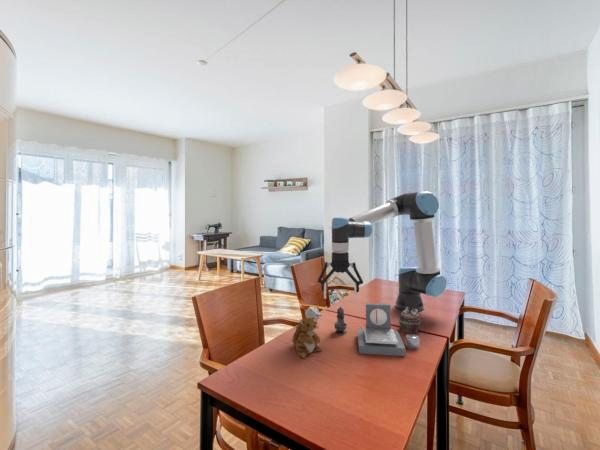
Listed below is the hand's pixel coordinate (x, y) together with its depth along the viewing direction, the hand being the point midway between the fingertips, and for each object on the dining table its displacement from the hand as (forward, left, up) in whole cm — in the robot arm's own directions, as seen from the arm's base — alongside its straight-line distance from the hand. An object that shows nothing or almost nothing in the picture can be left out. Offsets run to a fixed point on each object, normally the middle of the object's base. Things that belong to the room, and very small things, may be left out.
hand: (340, 298), depth 131 cm
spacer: (-29, +10, -16) cm, 35 cm away
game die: (+14, -10, -16) cm, 23 cm away
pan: (-16, +12, -12) cm, 24 cm away
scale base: (-16, +11, -16) cm, 25 cm away
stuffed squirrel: (+14, +18, -16) cm, 28 cm away
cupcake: (-32, -7, -16) cm, 36 cm away
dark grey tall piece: (0, 0, -16) cm, 16 cm away
